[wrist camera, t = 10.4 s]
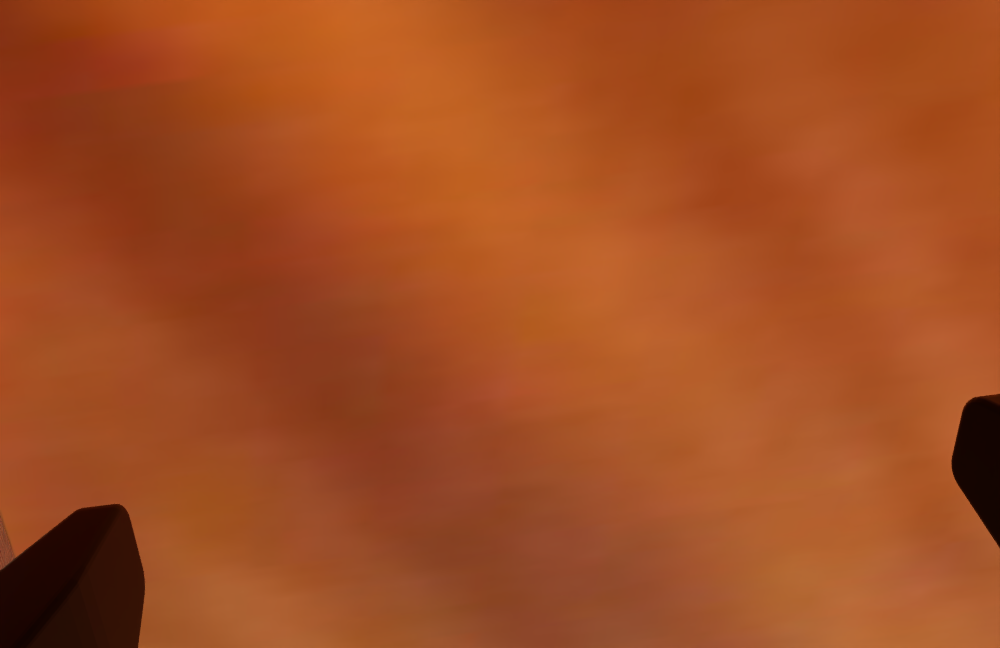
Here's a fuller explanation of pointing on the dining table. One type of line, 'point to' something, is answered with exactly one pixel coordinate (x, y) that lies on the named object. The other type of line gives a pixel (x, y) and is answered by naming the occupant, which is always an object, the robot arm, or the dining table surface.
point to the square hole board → (4, 548)
